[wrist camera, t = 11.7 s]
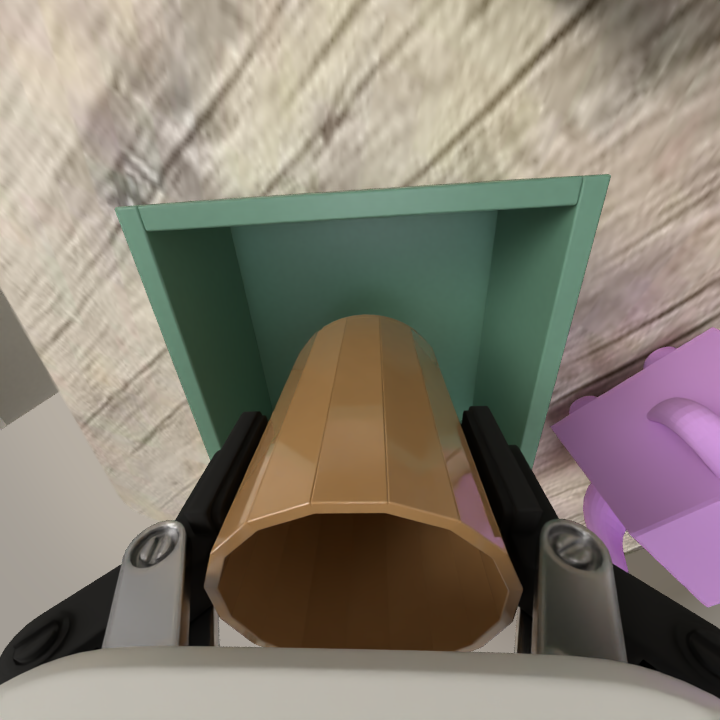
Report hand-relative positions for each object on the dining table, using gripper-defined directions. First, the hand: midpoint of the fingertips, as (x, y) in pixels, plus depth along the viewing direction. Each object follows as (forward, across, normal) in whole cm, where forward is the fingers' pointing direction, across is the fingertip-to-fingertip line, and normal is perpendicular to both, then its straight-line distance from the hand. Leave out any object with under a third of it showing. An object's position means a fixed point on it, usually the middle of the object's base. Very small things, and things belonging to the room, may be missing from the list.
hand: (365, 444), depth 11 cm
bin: (+11, 0, 0) cm, 11 cm away
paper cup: (+4, 0, 0) cm, 4 cm away
